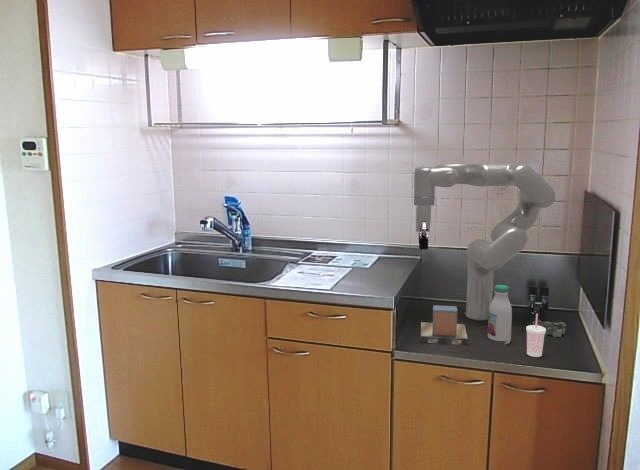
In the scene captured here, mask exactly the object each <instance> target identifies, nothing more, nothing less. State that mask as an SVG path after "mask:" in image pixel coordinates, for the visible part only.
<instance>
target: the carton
mask: <svg viewBox="0 0 640 470" xmlns="http://www.w3.org/2000/svg"><path fill="white" fill-rule="evenodd" d="M432 323H433V329H432V337H450V338H456V336H457V324H458V308H457V305H437V304H436V305H432Z"/></svg>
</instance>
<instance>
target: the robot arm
mask: <svg viewBox="0 0 640 470" xmlns="http://www.w3.org/2000/svg"><path fill="white" fill-rule="evenodd" d="M413 176H414V178H413V179H414V180H413V181H414V182H413V206H416V210H415V232H416V233H418V249H419V250H428V249H429V237H428V235H429V232H431V231H430V229H431V220H432V219H431V218H432V206H435V202H436V201H435V199H436V197H435V196H436V187H437V188H438V187H439V188H451V187H454V186H455V185H457V184H458V185H469V186H473V187H500V186H501V187H506V186H512V187H517V188H518V189H519V194H518V205H517V207H516V208H515V210H514V211H512V212H511V213H510V214H509V215H508V216H507V217H506V218H504V219H503V220H501V221H500V222H499V223H498V224H496V225H495V226H494V227H493V228H492V230H491V232H490V239H491V240H492V242H491V241H488V240H486V239H484V238H483V239H481V238H477V239H474V240H472V241H471V242H470V243H469V244H468V246H467V248H466V262H467V263H466V264H467V280H466V281H467V282H466V283H467V284H466V304H465V305H466V307H465V308H466V310H465V312H464V313H463V314H464V315H465V317H466V318H468V319H471V320H474V321H488V319H489V308H490V304H491V302H492V300H493V292H494V291H493V289H494V271H495V270H498V269H500V268H501V267H503V266H504V265H505V264H506V263H507V264H508V262H509V261H511V260H512V259H513V258H515V256H516V255H518V254H519V253H520V252H521V251H523V249H524V248H525V247H526V245H527V242H528V234H527V231H528V230H529V229H530V228H531V227H532V226H534V224H535V223H536V221H537V220H538V217H539V212H540V209H546V208H548V207H551V206H552V205H553V204H554V203H555V201H556V192H555V190H554V188H553V187H552V186H551V185H550V184H549V183H548V182H547V181H546V180H545V179H544V178H543V177H542V176H541V175H540V174H539V173H538V172H537V171H536V170H535V169H533V167H531V166H530V165H528V164H526V163H519V162H490V163H489V162H487V163H486V162H484V163H461V164H460V163H458V164H457V163H455V164H453V163H452V164H437V165H435V166H433V167H431V166H419V167H418V166H417V167H416V168H415V169H414V173H413Z"/></svg>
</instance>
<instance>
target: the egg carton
mask: <svg viewBox="0 0 640 470" xmlns="http://www.w3.org/2000/svg"><path fill="white" fill-rule="evenodd" d="M532 325H536V320H534V321H533V322H532ZM537 326H542V327H544V328H545V329H546V332H545V335H544V336H546V335H550V336H552V337H553V338H561V337H562V335H565V334H566V326H567V323H566V322H562V321H558V322H555V321H554V322H550V321H542V320H539V319H537Z"/></svg>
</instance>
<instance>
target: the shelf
mask: <svg viewBox="0 0 640 470" xmlns="http://www.w3.org/2000/svg"><path fill="white" fill-rule="evenodd" d="M432 329H433V322H424V321H423V322H422V321H421V322H420V343H421V344H423V343H424V344H437V345H438V344H440V345H456V346H460V345H461V346H470V338H469V337H468V335H467V330H466V325H465V323H464V324H462V323H457V336H456V338H450V337H432Z"/></svg>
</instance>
